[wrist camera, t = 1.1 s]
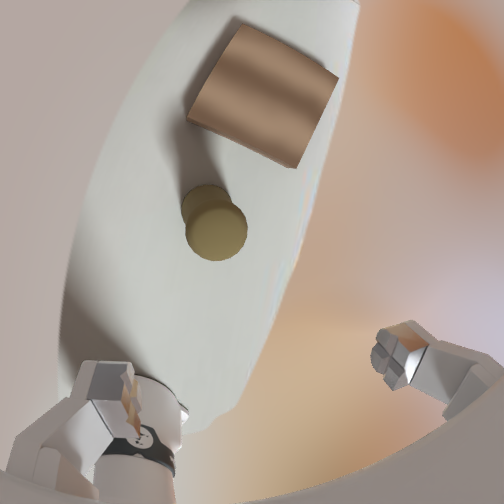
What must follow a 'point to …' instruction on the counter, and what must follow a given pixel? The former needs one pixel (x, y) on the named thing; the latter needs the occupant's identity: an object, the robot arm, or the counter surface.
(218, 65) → the walnut base
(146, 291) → the counter surface
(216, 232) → the olive pawn
